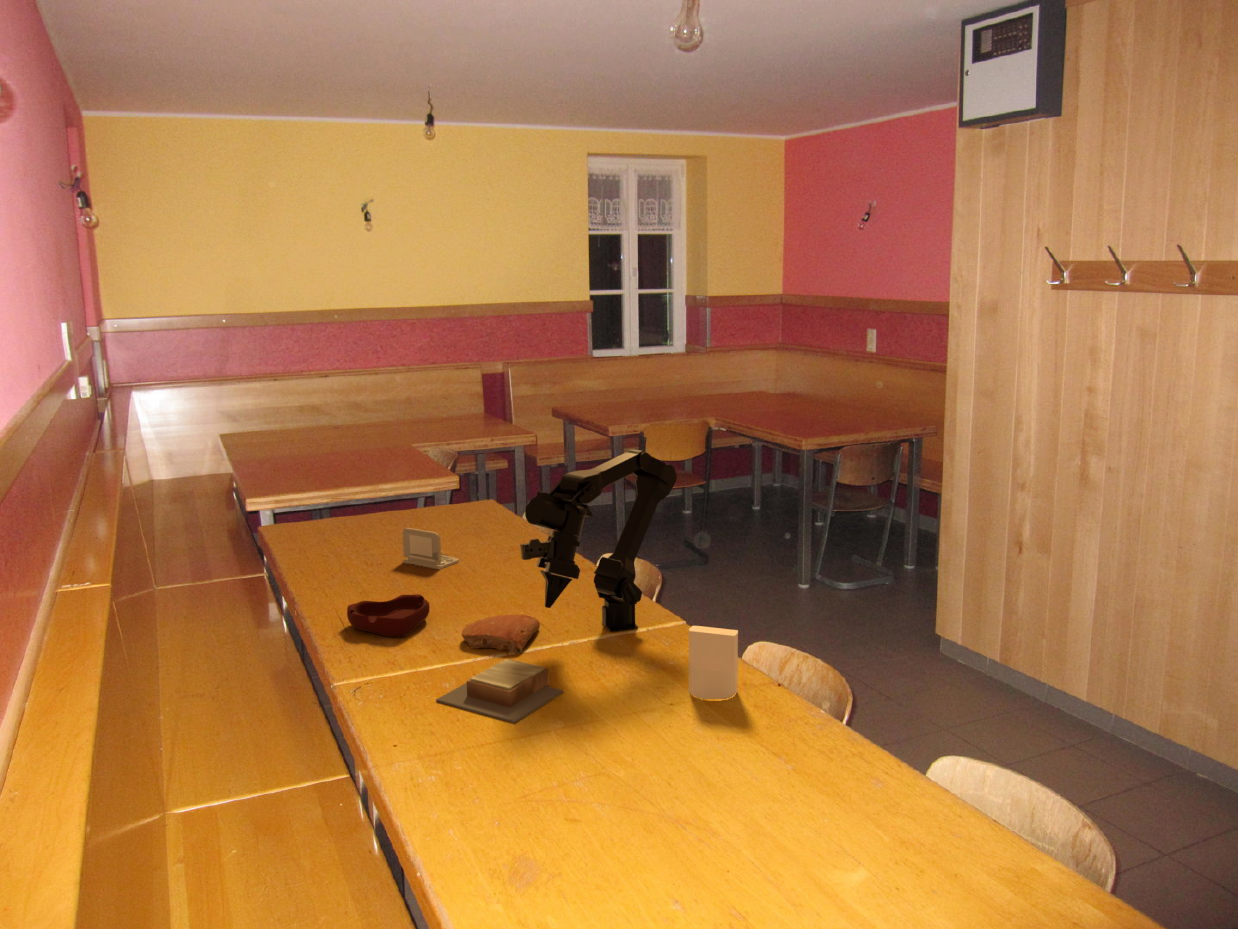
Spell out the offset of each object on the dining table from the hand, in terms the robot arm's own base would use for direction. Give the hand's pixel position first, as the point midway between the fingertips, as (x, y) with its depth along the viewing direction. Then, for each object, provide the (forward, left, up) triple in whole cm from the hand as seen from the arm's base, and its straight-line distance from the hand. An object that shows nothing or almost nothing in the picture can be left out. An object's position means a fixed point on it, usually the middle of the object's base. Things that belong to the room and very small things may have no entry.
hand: (547, 607), depth 198 cm
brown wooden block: (+7, +12, -8) cm, 16 cm away
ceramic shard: (+8, -12, -11) cm, 18 cm away
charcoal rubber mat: (+14, +17, -10) cm, 24 cm away
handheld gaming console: (+13, -76, -10) cm, 78 cm away
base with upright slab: (-24, +29, -10) cm, 39 cm away
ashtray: (+29, -27, -10) cm, 41 cm away
